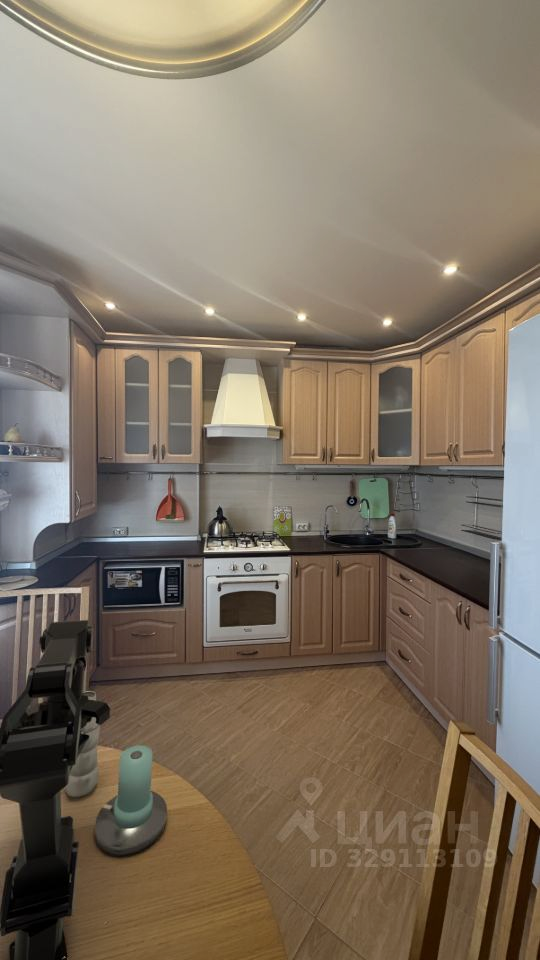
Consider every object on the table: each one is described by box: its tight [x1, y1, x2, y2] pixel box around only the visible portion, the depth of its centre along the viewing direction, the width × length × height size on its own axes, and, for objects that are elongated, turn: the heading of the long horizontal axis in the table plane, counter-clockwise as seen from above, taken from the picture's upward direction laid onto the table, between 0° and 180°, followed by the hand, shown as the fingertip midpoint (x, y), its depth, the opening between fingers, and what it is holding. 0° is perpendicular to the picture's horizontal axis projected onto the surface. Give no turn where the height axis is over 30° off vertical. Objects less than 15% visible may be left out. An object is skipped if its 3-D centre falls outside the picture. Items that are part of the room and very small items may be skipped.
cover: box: [114, 744, 153, 829], centre depth 77 cm, size 7×7×11 cm
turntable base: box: [95, 826, 165, 858], centre depth 76 cm, size 12×12×1 cm
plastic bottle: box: [64, 690, 102, 798], centre depth 85 cm, size 6×7×20 cm
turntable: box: [94, 790, 168, 851], centre depth 76 cm, size 13×13×1 cm
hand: (59, 785), depth 69 cm, fingers closed
